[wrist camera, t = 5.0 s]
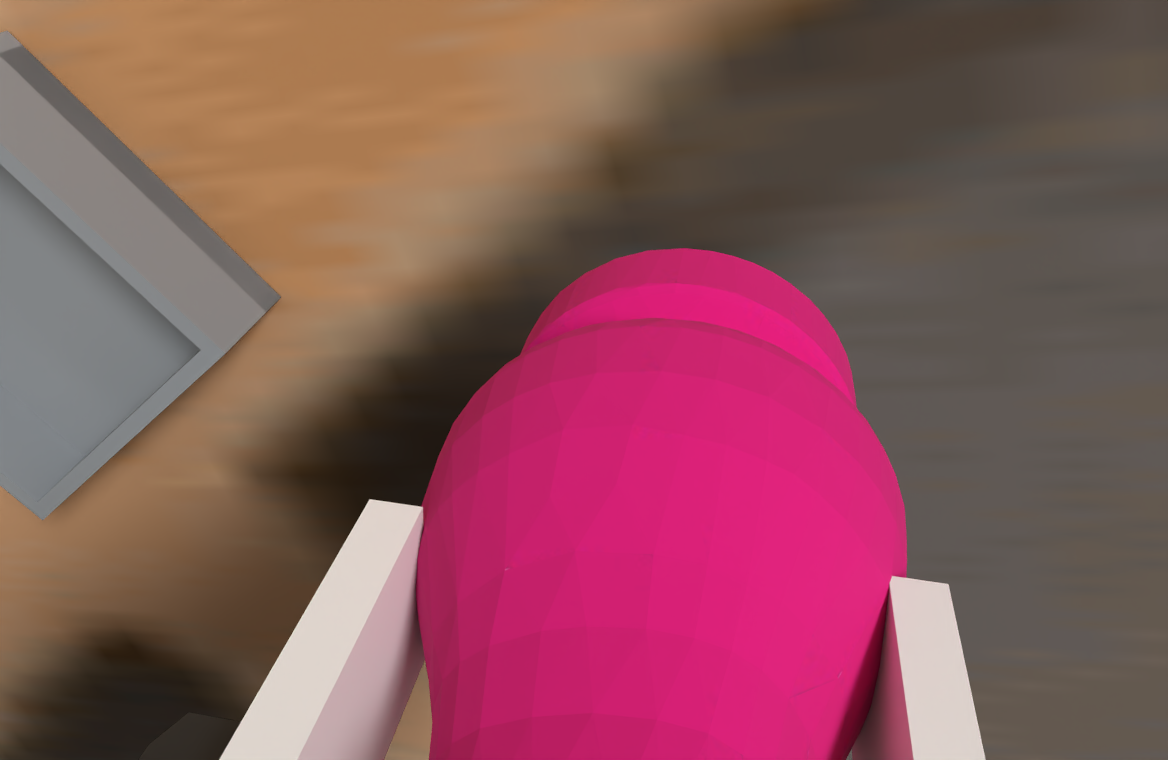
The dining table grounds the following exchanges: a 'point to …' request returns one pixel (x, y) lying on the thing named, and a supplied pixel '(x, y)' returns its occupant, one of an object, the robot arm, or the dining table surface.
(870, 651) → the pepper mill
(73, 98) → the tray
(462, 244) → the dining table surface
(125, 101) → the dining table surface
